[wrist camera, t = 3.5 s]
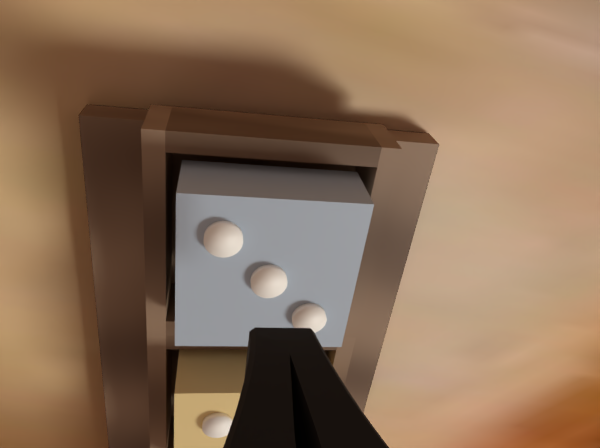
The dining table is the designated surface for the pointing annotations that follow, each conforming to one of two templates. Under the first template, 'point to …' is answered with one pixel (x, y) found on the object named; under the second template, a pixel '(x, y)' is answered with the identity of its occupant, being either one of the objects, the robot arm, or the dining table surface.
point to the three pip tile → (266, 250)
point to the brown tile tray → (162, 237)
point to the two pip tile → (206, 396)
